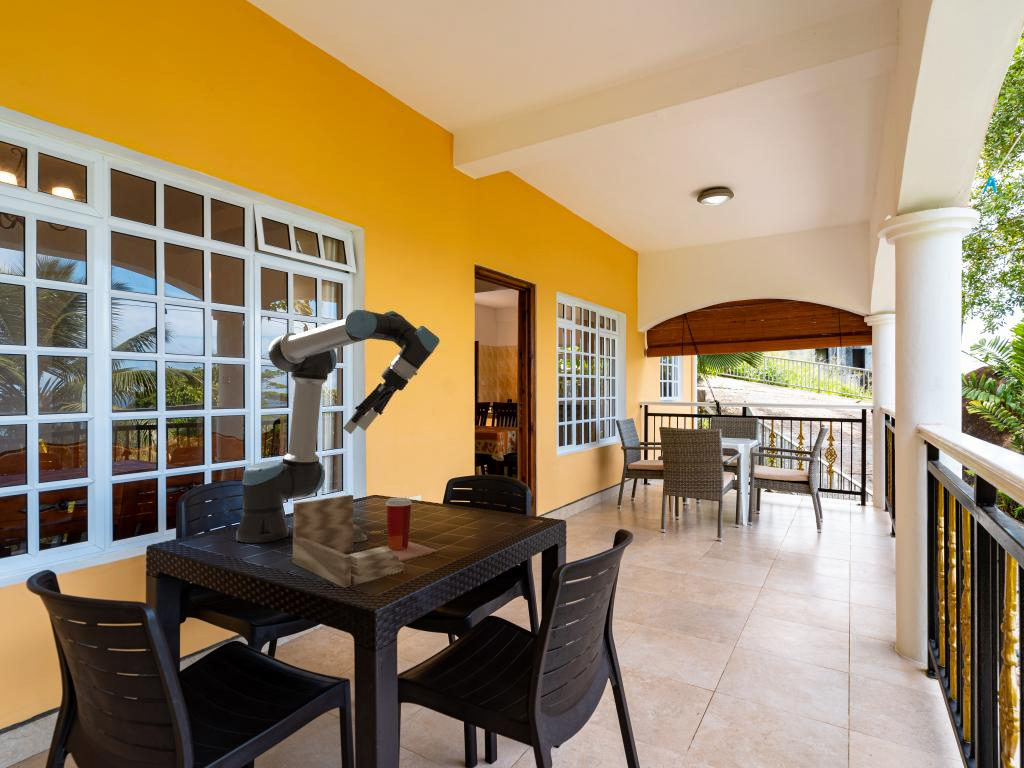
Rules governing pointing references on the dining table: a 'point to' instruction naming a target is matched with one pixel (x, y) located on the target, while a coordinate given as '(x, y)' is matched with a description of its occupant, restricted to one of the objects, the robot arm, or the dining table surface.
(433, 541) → the dining table surface
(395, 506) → the paper cup
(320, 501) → the oak rack
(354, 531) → the packaged product
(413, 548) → the terracotta mat
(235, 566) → the dining table surface
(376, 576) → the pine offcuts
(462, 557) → the dining table surface
